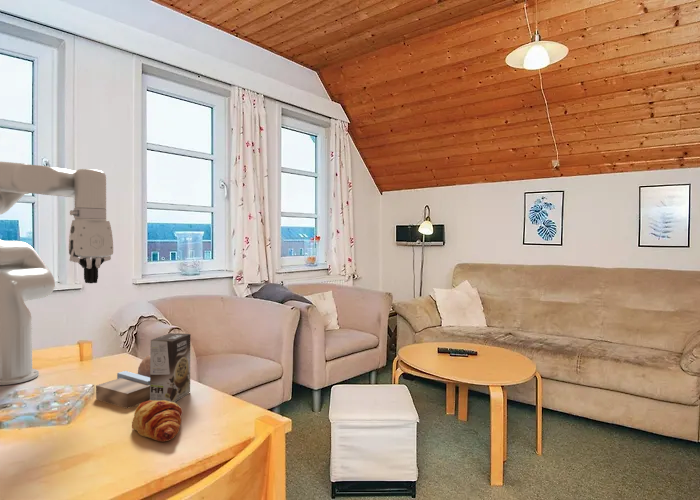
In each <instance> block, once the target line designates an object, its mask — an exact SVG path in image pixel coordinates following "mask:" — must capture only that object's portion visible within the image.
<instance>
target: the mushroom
mask: <svg viewBox="0 0 700 500" xmlns="http://www.w3.org/2000/svg"><path fill="white" fill-rule="evenodd" d="M137 374H139V375H143V376H146V377H150V354H149V355H146V356H145V357H144V358H143V359H142V360H141V362H140V363H139V366H138V370H137Z"/></svg>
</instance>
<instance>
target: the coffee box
mask: <svg viewBox="0 0 700 500" xmlns="http://www.w3.org/2000/svg"><path fill="white" fill-rule="evenodd" d="M149 355H150V400H157V401H159V400H160V401H162V400H166V401H170V402H175V403H176V402H177V401H178V400H180V398H181V399H182V398H184V397H185V396H187V395H188V393H189V392H190V393H191V334H190V333H171V332H170V333H167V334H165V335H161V336H159V337H156V338H153V339H150V354H149ZM190 393H189V394H190ZM186 394H187V395H186ZM183 396H184V397H183Z"/></svg>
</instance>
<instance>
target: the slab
mask: <svg viewBox="0 0 700 500" xmlns="http://www.w3.org/2000/svg"><path fill="white" fill-rule="evenodd" d="M95 392H96V393H95V398H96V399H95V400H97V401H99V402H100V401H101V402H104V403H107V404H109V405H114V406H116V407H117V406H118V407H121V408H125V409H129V408H133V407H135V406H139V404H141V403H142V402H145V401H149V400H150V385H147V384H143V383H139V382H135V381H131V380H127V379H122V378H119V379H117V378H116V379H113V380H110V381H107V382H103V383H99V384H97V385H95Z"/></svg>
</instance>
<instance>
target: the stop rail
mask: <svg viewBox="0 0 700 500" xmlns="http://www.w3.org/2000/svg"><path fill="white" fill-rule="evenodd" d="M116 374H117V375H116V379H119V378H122V379H127V380H131V381H135V382H139V383H143V384H147V385H150V377H146V376H143V375H139V374H138V373H135V372H131V371H128V370H124V371H120V372H117V373H116Z"/></svg>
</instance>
